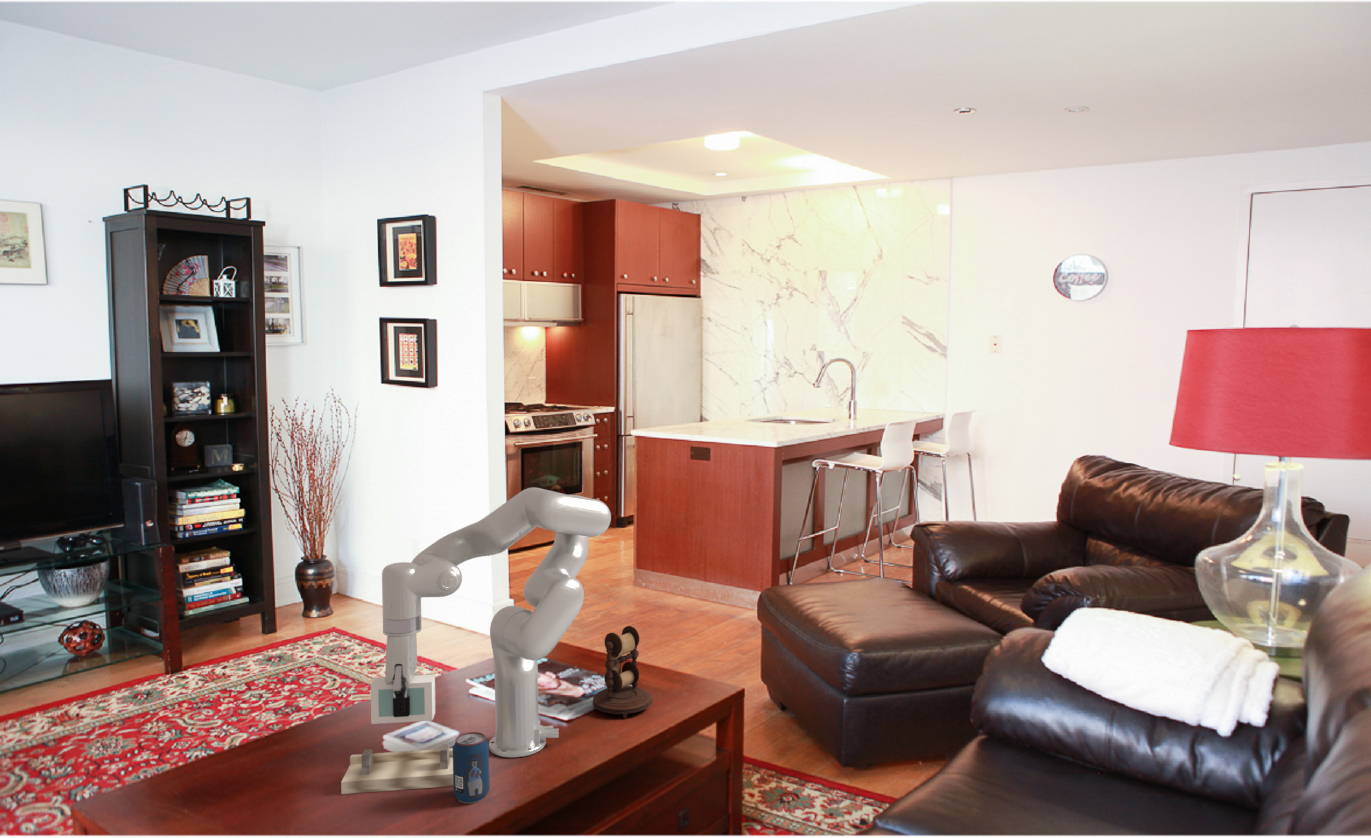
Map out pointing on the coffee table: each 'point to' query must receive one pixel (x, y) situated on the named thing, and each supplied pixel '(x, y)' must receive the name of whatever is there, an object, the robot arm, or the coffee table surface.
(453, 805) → the coffee table surface
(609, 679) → the thread spool stand
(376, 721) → the white block
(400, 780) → the ledge
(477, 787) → the soda can
